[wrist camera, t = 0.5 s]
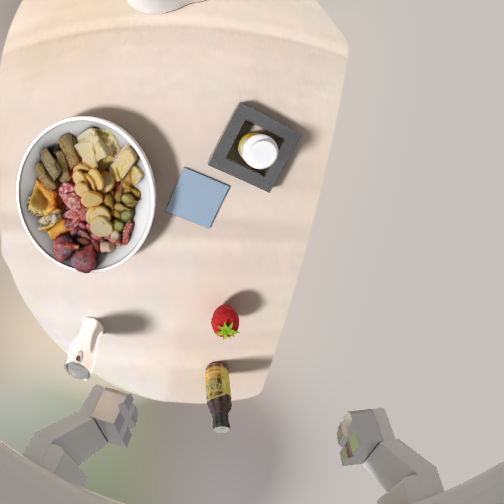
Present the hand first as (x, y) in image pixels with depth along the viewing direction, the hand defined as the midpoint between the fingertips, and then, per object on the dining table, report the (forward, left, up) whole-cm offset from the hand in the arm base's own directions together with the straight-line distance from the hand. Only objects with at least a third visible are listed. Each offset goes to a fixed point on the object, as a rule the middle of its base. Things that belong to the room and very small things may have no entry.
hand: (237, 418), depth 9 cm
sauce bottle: (+48, +22, -46) cm, 70 cm away
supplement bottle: (-7, +5, -46) cm, 47 cm away
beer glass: (+46, -13, -46) cm, 66 cm away
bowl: (+13, -21, -46) cm, 52 cm away
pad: (+6, 0, -46) cm, 46 cm away
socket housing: (-7, +5, -46) cm, 46 cm away
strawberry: (+27, +15, -46) cm, 55 cm away
